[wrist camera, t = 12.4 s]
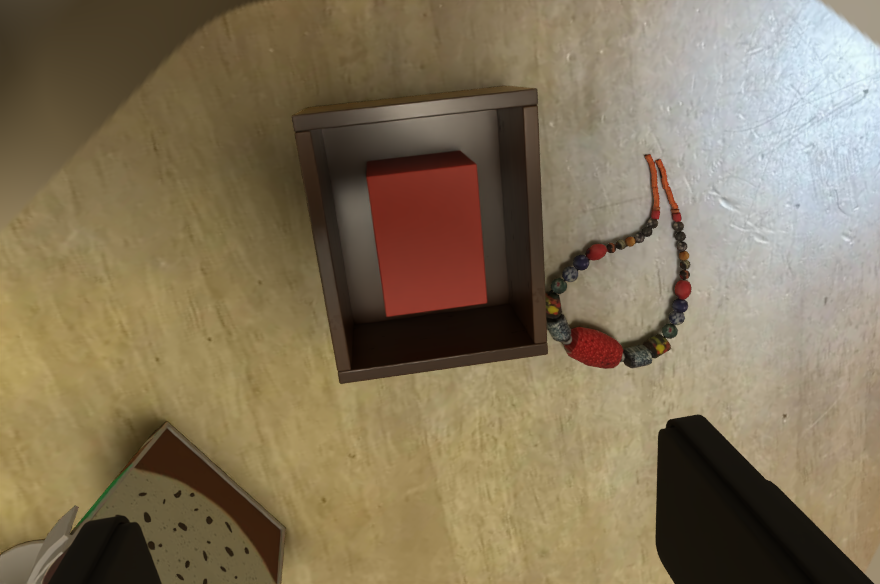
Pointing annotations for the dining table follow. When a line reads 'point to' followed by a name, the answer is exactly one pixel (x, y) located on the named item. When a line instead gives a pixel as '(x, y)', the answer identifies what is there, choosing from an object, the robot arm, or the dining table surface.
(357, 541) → the dining table surface
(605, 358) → the necklace
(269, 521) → the cake cutout
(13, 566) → the wineglass
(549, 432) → the dining table surface
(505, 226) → the box
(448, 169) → the block
